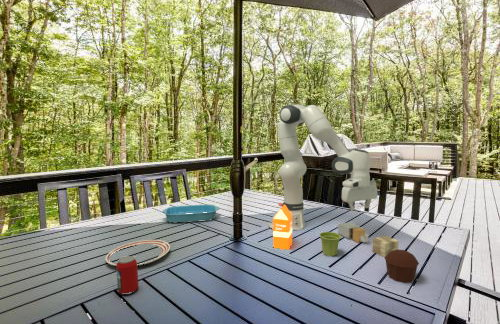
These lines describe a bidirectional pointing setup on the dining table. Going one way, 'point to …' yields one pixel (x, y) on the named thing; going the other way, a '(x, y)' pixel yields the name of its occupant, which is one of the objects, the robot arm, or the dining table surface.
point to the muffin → (401, 266)
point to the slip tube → (358, 234)
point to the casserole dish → (180, 212)
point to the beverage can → (127, 274)
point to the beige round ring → (159, 243)
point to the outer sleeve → (346, 230)
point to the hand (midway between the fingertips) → (359, 208)
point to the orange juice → (282, 229)
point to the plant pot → (330, 243)
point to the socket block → (384, 245)
